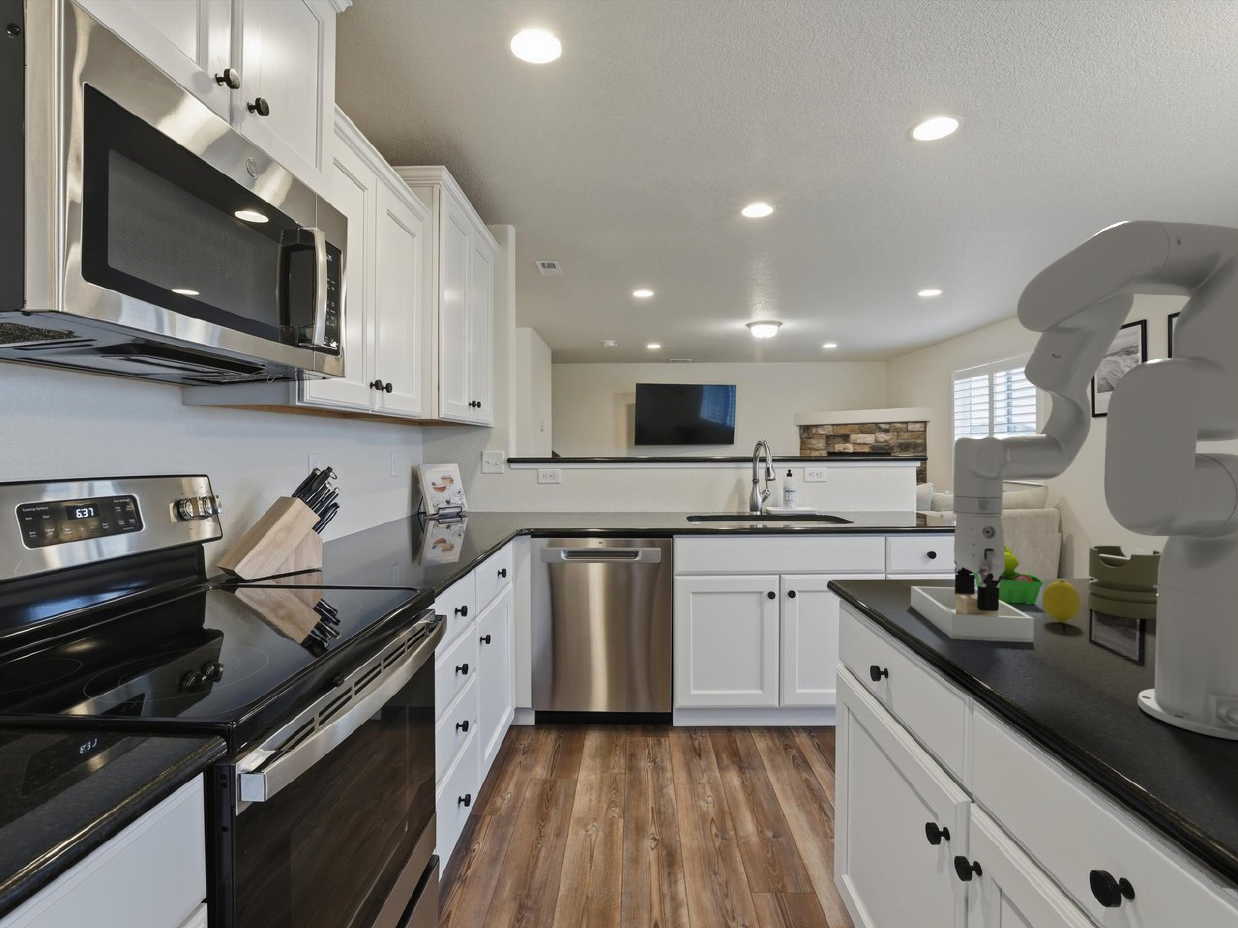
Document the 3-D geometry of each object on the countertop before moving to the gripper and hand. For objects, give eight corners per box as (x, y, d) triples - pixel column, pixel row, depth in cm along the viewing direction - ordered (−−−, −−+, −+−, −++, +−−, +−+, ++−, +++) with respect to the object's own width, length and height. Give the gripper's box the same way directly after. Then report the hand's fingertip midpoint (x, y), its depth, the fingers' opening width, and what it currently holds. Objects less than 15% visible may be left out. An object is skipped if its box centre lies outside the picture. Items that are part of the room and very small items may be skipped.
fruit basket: (980, 603, 129) (981, 548, 129) (970, 593, 138) (970, 542, 137) (1044, 607, 126) (1045, 551, 125) (1029, 596, 134) (1030, 544, 134)
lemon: (1044, 624, 113) (1045, 580, 113) (1040, 617, 118) (1041, 575, 118) (1082, 628, 111) (1083, 584, 111) (1076, 621, 116) (1077, 578, 116)
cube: (966, 628, 109) (966, 600, 109) (955, 620, 114) (956, 593, 114) (997, 630, 108) (998, 601, 108) (985, 622, 113) (985, 594, 113)
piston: (1147, 557, 115) (1078, 548, 125) (1145, 621, 115) (1076, 607, 125) (1174, 551, 121) (1106, 543, 130) (1172, 613, 121) (1104, 600, 131)
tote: (1033, 642, 103) (1033, 618, 103) (952, 638, 105) (952, 615, 105) (977, 608, 125) (978, 588, 125) (910, 605, 127) (911, 586, 126)
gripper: (1025, 512, 101) (1022, 617, 102) (979, 502, 118) (977, 592, 119) (975, 511, 102) (973, 615, 103) (937, 501, 119) (935, 590, 120)
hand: (975, 602), depth 111 cm, fingers open, 9 cm apart
